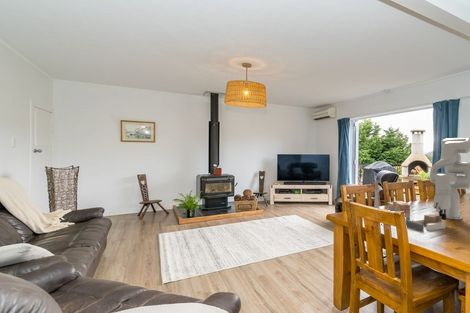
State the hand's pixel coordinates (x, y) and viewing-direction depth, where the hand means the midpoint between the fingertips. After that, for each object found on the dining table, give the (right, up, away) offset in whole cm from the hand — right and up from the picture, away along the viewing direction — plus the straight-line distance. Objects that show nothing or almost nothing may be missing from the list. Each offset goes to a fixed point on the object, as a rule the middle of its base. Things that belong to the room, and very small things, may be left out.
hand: (442, 219), depth 158 cm
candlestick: (-41, -4, +7) cm, 41 cm away
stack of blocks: (-17, -4, +19) cm, 26 cm away
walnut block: (-9, -4, -2) cm, 10 cm away
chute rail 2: (-11, -4, -8) cm, 14 cm away
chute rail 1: (-14, -4, +1) cm, 14 cm away
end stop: (-25, -4, -7) cm, 26 cm away
